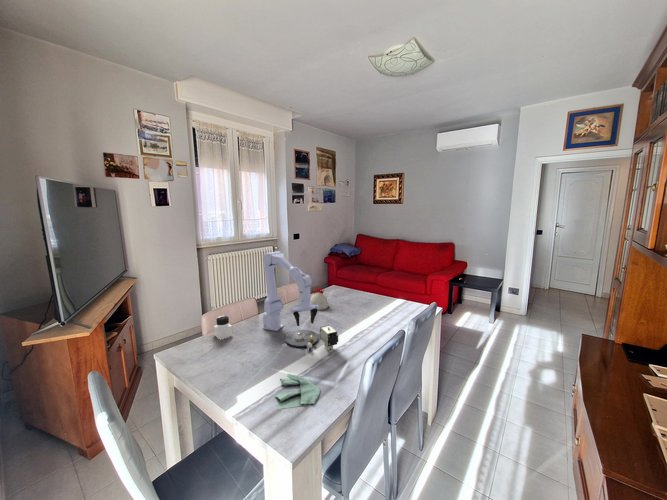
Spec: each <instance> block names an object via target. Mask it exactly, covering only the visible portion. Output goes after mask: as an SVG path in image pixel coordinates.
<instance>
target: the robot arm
mask: <svg viewBox="0 0 667 500" xmlns="http://www.w3.org/2000/svg"><path fill="white" fill-rule="evenodd" d="M262 263H263V268H264V269H263V270H264V277H265V278H264V279H265V284H266V285H265V286H266V292H267V297H266V299H265V300H263V301H264V307H263V310H264V313H263V315H262V323H263V324H262V329H263V330H270V331H275V332H277V331H279V330H280V329H281V328H283V327H284V324H283V323H282V321H281V318H282V317H281V315H282V314H281V312H282V310H284V309H283V308H284V302H283V300H282V297H280V295H278V288H277V280H276V273H275V268H276V266H277V265H280V266H281V267H282V268H284V269H285V270H286V271H287V272H288V275H289V276H290V277H291V278H292V279H293V280H294V281H295V282H296V286H297V289H298V295H299V296H298V298H299V299H298V300H299V303H298V305H299V306H296V307H292V308H290V313H291V314H292V315H293V316H294V319H295V321H296V322H295V323H296V325H297V327H300V312H308V311H309V312H310V323H311V324H314V322H315V318H316V315H317V314H318V310H317V309H319V306H318V305H310V299H311V286H312V285H313V282H314V280H313V278H312V276H311V275H310V274H306V273H304V272H303V271H302V270H301V269H300V268H299V267H298V266H293V265H292V264H291V263H290V261H288V259H287V258H286V257H285V254H284V253H283V252H282V251H281V250H278V251H273V252H265V253H264V254H263V256H262Z"/></svg>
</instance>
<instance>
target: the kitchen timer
mask: <svg viewBox="0 0 667 500" xmlns="http://www.w3.org/2000/svg"><path fill="white" fill-rule="evenodd" d="M324 291H325V289H323V288H320V287H319V288H318V287H316V289H314V290H312V293H313V294H312V295H311V296H310V305H318V306H319V309H317V311H323V310H326V309H328V307H329V304H328V303H329V302H328V299H327V297H326V296H325V294H324Z"/></svg>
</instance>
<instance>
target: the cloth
mask: <svg viewBox="0 0 667 500" xmlns="http://www.w3.org/2000/svg"><path fill="white" fill-rule="evenodd" d="M286 377H287V378H284V379H283V378H280V379H279V381H280V382H281V386H282V387H284V386H285V387H286V386H287V387H291V386H299V389H300V390H297V391H295V390H294V391H288V392H283V393H279V394H277V395H275V398H278V400H277V405H276V410H281V409H282V410H283V409H291V408H292V409H293V408H298V407H303V406H306V404H307V405H311V404H312V405H315V404H316V401H317V400H318V398H319V396H320V395H321V388H320V387H318V386H317V385H315V384H314V383H313V382H312V381H310V380H308V379H307V378H304V377H303V376H298V375H296V374H292V373H287V375H286Z"/></svg>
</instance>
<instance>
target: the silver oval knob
mask: <svg viewBox="0 0 667 500" xmlns="http://www.w3.org/2000/svg"><path fill="white" fill-rule="evenodd" d="M306 346H307V348H308V350H309V351H308V352H311V351H312V350H311V347H312V344H311V343H310V342H308V343H307V344H306ZM310 350H311V351H310Z"/></svg>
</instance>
